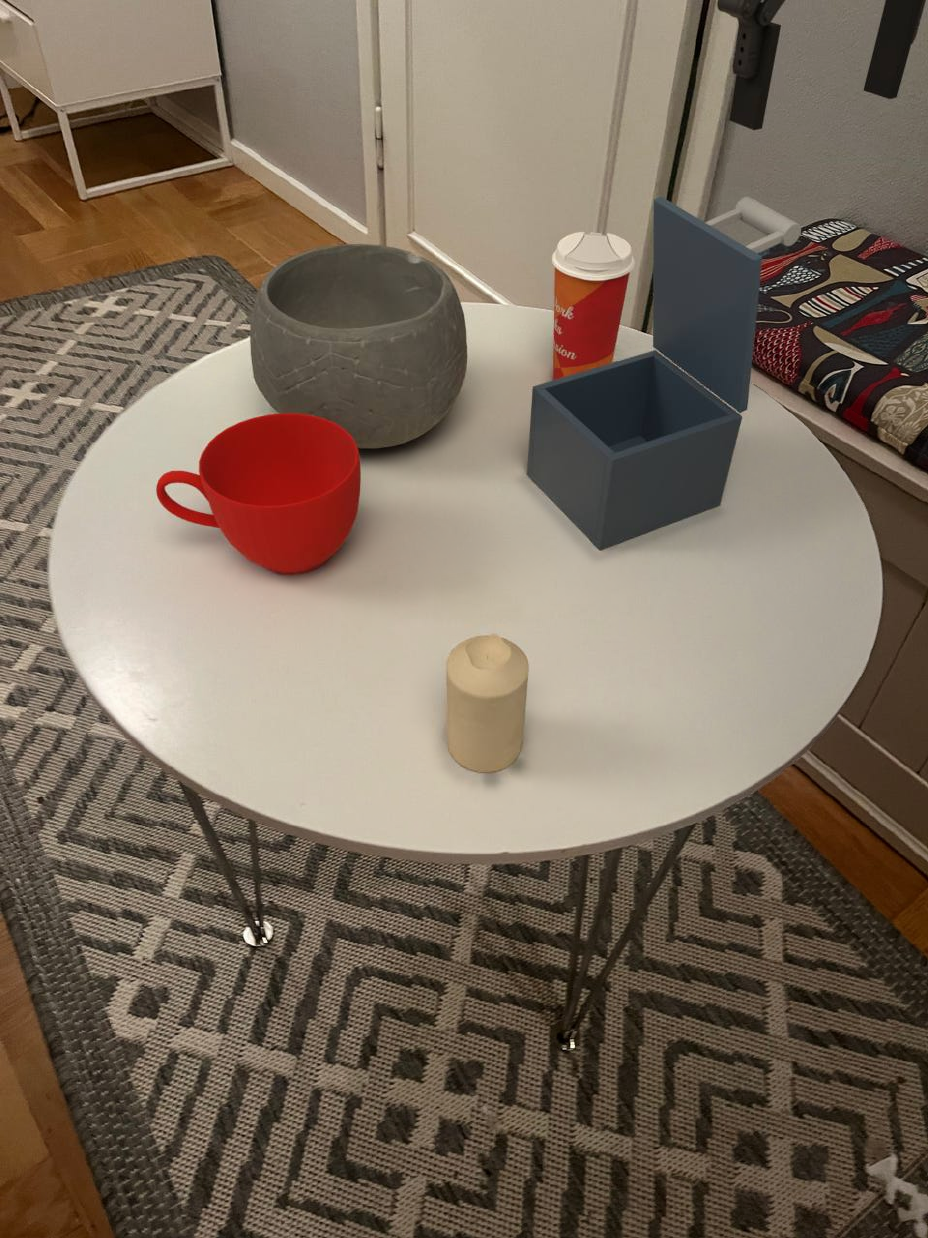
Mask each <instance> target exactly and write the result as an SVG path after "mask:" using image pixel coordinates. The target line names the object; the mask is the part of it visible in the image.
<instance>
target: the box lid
mask: <svg viewBox="0 0 928 1238" xmlns="http://www.w3.org/2000/svg"><path fill="white" fill-rule="evenodd" d="M737 221H741V222H743V223H744V224H746V225H748V226H750V227H751V228H753V229H754V230H757V231H758V232H760V233H761V234H764V235H765V236H764V237H761V238H759V239H758V240H756V241H753V242H751V243H749V244H746V245H744V244H742V243H740V242H739V241H737V240H735V239H734V238H732V237H730V236H729V235H727V234H726V233H724V232H722V231H720V229H722V228H725V227H727V226H729V225H731V224H733V223H735V222H737ZM801 233H802V227H801V225H800V223H798V222H796V221H794V220H792V219H790V218H789V217H787V216H785V215H784V214H781V213H779V212H777V211H775V210H773V209H772V208H770V207H768V206H766V205H765V204H763V203H760V202H759V201H757V200H755V199H754V198H752V197H750V196H744V197H742V198H741V199H739V201H738V202H737V204H736V206H735V208H734V209H732V210H729V211H727V212H725V213H723V214H720V215H719V216H717V217H714V218H712V219H710V220H708V221H703V220H701V219H700V218H698V217H697V216H695V215H694V214H691V213H690V212H688V211H687V210H685V209H683V208H682V207H679V206H678V205H676V204H675V203H674V202H671V201H670V200H668V199H666V198H665V197H664V196H659V197H657V198H654V199H653V235H652V236H653V237H652V238H653V241H652V242H653V243H652V244H653V245H652V246H653V249H652V250H653V255H652V259H653V260H652V261H653V263H652V265H653V268H652V269H653V270H652V271H653V272H652V274H653V275H652V277H653V278H652V282H653V283H652V293H653V294H652V295H653V296H652V301H653V302H652V348H653V349H654V350H656V351H657V352H659V353H660V354H661V355H662V356H664V357H665V358H666V359H668V360H669V361H670V362H672V363H673V364H674V365H676V366H677V367H678V368H679V369H681V370H682V371H683V372H685V373H686V374H687V375H689V376H690V377H691V378H693V379H694V380H695V381H697V382H698V383H699V384H700V385H702V386H703V387H704V388H706V389H707V390H708V391H710V392H711V393H712V394H714V395H715V396H716V397H718V398H719V399H720V400H721V401H723V402H724V403H725V404H727V405H728V406H729V407H731V408H732V409H733V410H735V411H736V412H737V413H739V414H742V413H744V412H746V411H748V406H749V397H750V387H751V378H752V367H753V356H754V347H755V346H754V345H755V338H756V337H755V335H756V324H757V316H758V307H759V296H760V288H761V287H760V286H761V277H762V276H761V275H762V266H763V256H762V255H760V253H762V252H764V251H767V250H768V249H770V248H774V247H775V246H777V245H779V244H781V245H783V246H784V247H791V246H793V245H794V244H795V243H796V242H797V241H799V238H800V236H801Z"/></svg>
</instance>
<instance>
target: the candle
mask: <svg viewBox="0 0 928 1238" xmlns="http://www.w3.org/2000/svg"><path fill="white" fill-rule="evenodd" d="M445 667H446V669H445V671H446V673H445V674H446V675H445V676H446V740H447V746H448V750H449V752H450V754H451V756H452V758H453V759H454V760H455V762H456V763H458V764H459V765H460V766H462V767H464V768H465V769H467V770H470V771H473V772H478V773H494V772H498V771H501V770H503V769H505V768H508V767H510V766H511V765H512V764H513V763H514V762H515V761H516V760H517V758H518V756H519V755H520V752H521V750H522V747H523V739H524V729H525V719H526V718H525V717H526V706H527V693H528V682H529V667H530V666H529V660H528V657H527V656H526V653H525V652H524V650H523V649H522V648H520V647H519V646H518V645H517V644H516V643H514V642H512V641H511V640H509V639H507V638H505V637H501V636H499V635H498V634H489V635H487V634H485V635H477V636H473V637H470V638H466V639H464V640H463V641H461V642H459V643H458V644H456V645H455V646H454V647H453V648H452V650H451V651H450V652H449V654H448V656H447V659H446V666H445Z"/></svg>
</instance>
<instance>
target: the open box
mask: <svg viewBox="0 0 928 1238" xmlns="http://www.w3.org/2000/svg"><path fill="white" fill-rule="evenodd" d="M529 420H530V421H529V433H528V434H529V436H528V448H527V449H528V452H527V465H526V466H527V467H526V475H527V476H528V478H529V479H530V480H532V482H533V483H534V484H535V485H536V486H537V487H538V488H539V489H540V490H541V491H542V492H543V493H544V494H545V495H546V496H547V497H548V498H549V500H550V501H552V502H553V503H554V504H555V506H556V507H558V509H559V510H560V511H561V512H562V513H563V514H564V515H565V516H566V518H568V519H569V520H570V521H571V522H572V523H573V524H574V525H575V527H576V528H577V529H579V530H580V532H581V533H582V534H584V536H585V537H586V538H587V539H588V540H589V542H591V543H592V544H593V545H594V546H595V547H596V548H597V549H598V550H599V551H603V550H605V549H607V548H610V547H613V546H615V545H618V544H620V543H624V542H626V541H629V540H632V539H634V538H637V537H640V536H642V535H644V534H647V533H650V532H653V531H655V530H658V529H661V528H664V527H666V526H668V525H671V524H674V523H676V522H679V521H683V520H684V519H688V518H690V517H692V516H695V515H698V514H700V513H704V512H706V511H709V510H711V509H714V508H717V507H718V506H719V507H720V506H721V503H722V500H723V495H724V491H725V487H726V483H727V479H728V475H729V471H730V467H731V464H732V459H733V455H734V452H735V449H736V448H735V447H736V444H737V440H738V436H739V432H740V428H741V425H742V420H743V416H742V415H741V413H739V412H738V411H736V410H735V409H734V408H733V407H731V406H730V405H729V404H727V403H726V402H725V401H723V400H722V399H721V398H719V397H718V396H717V395H715V394H714V393H713V392H712V391H710V390H709V389H708V388H706V387H705V386H704V385H702V384H701V383H700V382H698V381H697V380H696V379H694V378H693V377H692V376H691V375H689V374H688V373H687V372H685V371H684V370H683V369H681V368H680V367H679V366H677V365H676V364H675V363H673V362H672V361H671V360H669V359H668V358H667V357H666V356H664V355H663V354H662V353H660V352H659V351H658V350H656V349H654V350H651V351H648V352H644V353H640V354H638V355H634V356H630V357H627V358H624V359H621V360H617V361H612V363H610V364H607V365H603V366H600V367H597V368H593V369H590V370H587V371H583V372H580V373H576V374H573V375H570V376H566V377H563V378H560V379H556V380H554V379H552V380H549V381H546V382H544V383H540V384H536V385H533V386H532V391H531V405H530V418H529Z"/></svg>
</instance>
